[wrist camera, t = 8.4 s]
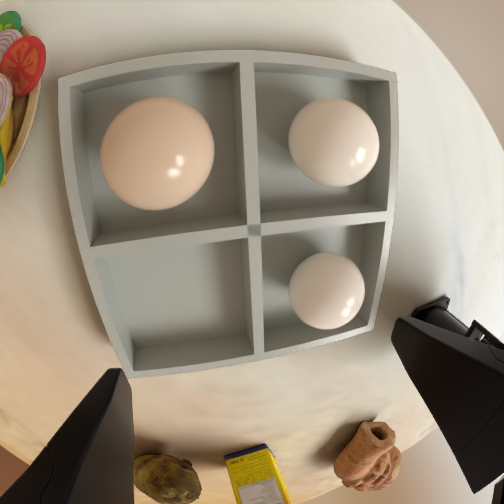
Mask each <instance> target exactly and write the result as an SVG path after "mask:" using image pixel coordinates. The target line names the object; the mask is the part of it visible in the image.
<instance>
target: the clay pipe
mask: <svg viewBox="0 0 504 504" xmlns="http://www.w3.org/2000/svg"><path fill="white" fill-rule="evenodd" d="M394 443H395V432H394V431H393V430H392V429H391V428H390V427H389V426H388V425H387V424H386V423H385V422H366V421H363V422H362V424H361V425H360V427H359V429H358V431H357V433H356V434H355V436H354V438H353V439H352V441H351V442H349V443H348V445H347V446H346V447H345V448H344V449H343V451H342V452H341V453H340V455H339V456H338V457H337V459H336V460H335V462H334V472H335V474H336V475H337V477H339V478H340V479H342V483H343V484H344V485H345V486H346V487H348V488H353V487H354V488H355V489H356V490H358V491H365V490H381V489H383V488H385V487H387V486H388V485H390V484H391V483H392V482H393V481H394V480H395V479H396V476H397V473H398V472H399V471H400V469H401V465H402V456H401V453H400V451H399V450H398V449H397V447H395V446H394Z"/></svg>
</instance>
